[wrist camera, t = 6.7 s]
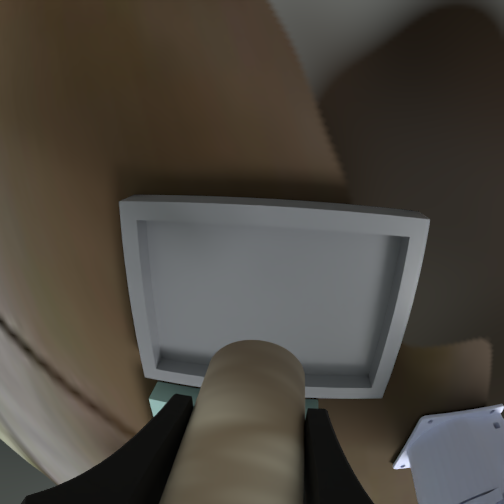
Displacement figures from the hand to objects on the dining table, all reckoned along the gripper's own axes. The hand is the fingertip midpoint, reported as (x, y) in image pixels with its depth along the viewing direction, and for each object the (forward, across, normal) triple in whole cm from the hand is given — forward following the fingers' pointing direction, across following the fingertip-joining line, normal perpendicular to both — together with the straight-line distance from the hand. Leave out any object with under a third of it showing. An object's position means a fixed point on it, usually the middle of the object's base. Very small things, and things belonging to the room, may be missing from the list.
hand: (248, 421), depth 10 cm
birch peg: (+2, 0, 0) cm, 2 cm away
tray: (+9, 0, 0) cm, 9 cm away
